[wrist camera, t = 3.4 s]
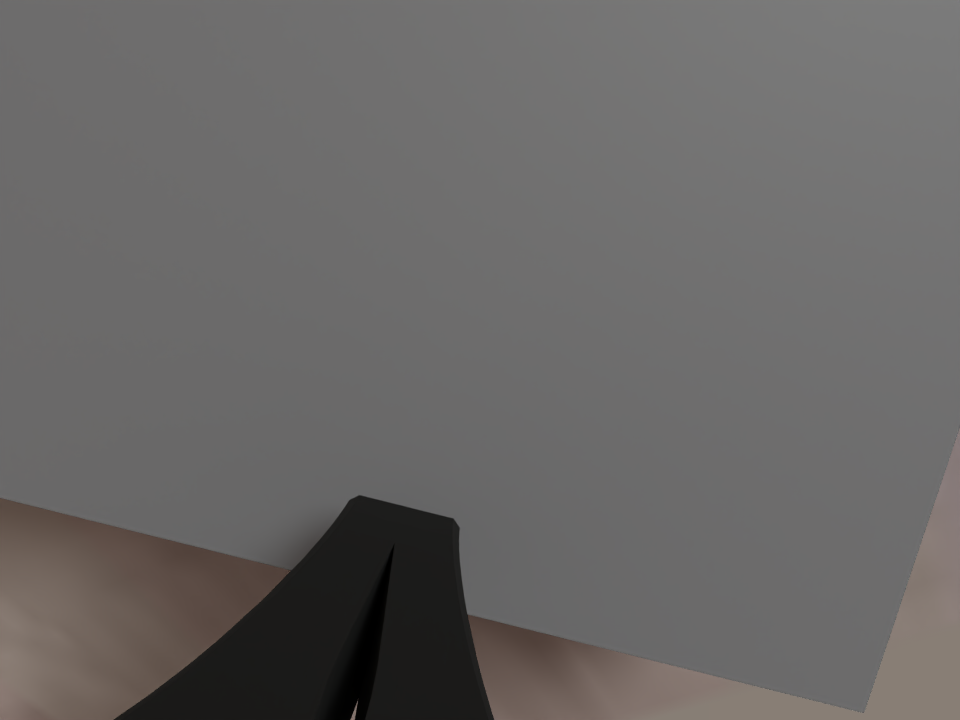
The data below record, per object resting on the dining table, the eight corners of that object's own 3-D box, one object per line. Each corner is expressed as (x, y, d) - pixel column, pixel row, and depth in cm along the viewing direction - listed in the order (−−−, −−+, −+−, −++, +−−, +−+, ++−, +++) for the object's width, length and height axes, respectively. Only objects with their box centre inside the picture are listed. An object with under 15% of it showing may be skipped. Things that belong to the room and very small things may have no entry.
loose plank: (1058, -101, 13) (1157, -160, 11) (815, 649, 15) (863, 712, 13) (-8, -378, 13) (-99, -487, 11) (-132, 412, 15) (-230, 440, 13)
